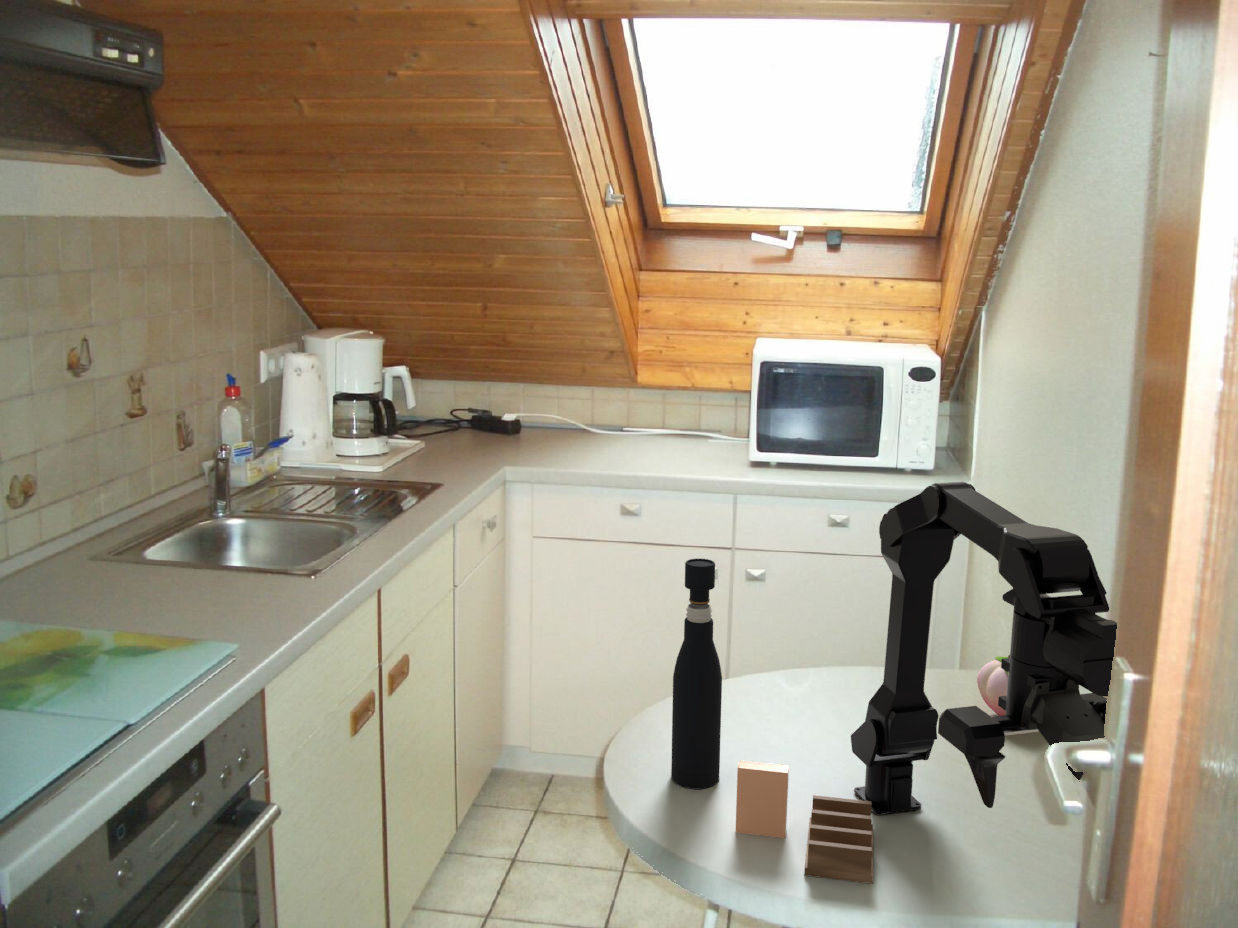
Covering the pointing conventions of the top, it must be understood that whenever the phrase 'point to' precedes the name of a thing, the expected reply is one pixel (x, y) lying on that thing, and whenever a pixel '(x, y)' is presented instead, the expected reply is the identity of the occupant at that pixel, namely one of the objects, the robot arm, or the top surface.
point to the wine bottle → (697, 687)
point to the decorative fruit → (993, 683)
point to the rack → (840, 840)
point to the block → (762, 798)
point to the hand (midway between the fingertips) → (1027, 800)
